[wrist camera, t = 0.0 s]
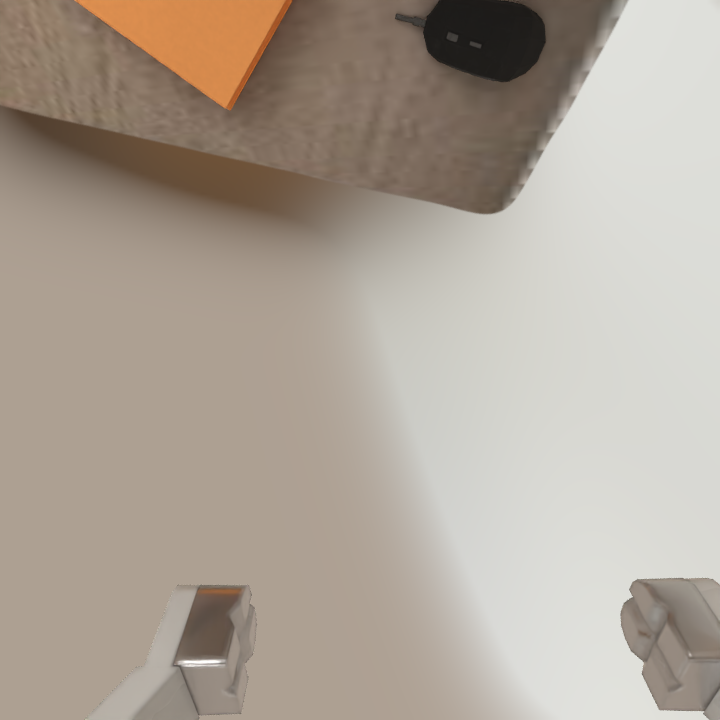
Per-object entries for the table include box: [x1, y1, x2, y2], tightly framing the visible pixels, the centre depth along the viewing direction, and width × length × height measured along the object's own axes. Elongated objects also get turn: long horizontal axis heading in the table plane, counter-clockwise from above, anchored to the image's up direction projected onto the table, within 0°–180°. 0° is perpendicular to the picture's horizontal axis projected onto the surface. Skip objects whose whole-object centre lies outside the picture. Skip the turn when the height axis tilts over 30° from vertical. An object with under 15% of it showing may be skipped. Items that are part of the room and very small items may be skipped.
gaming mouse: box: [395, 0, 545, 82], centre depth 45 cm, size 6×15×4 cm, turn 79°
